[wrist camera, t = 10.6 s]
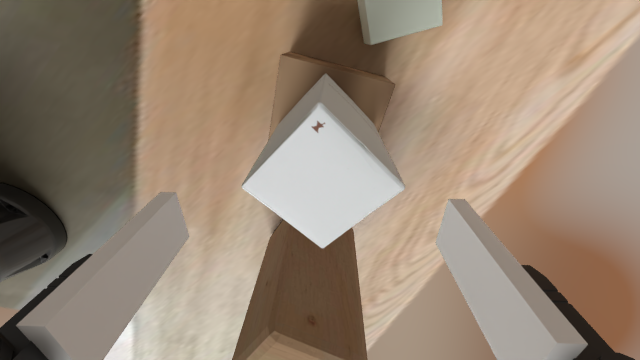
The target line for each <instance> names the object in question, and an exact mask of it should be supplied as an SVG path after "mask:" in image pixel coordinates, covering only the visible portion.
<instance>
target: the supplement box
mask: <svg viewBox="0 0 640 360" xmlns="http://www.w3.org/2000/svg"><path fill="white" fill-rule="evenodd" d="M242 188H243V189H244V190H245V191H247V192H248V193H249V194H251V195H252V196H253V197H255V198H256V199H257V200H259V201H260V202H261V203H263V204H264V205H265V206H267V207H268V208H269V209H271V210H272V211H273V212H275V213H276V214H277V215H279V216H280V217H281V218H283V219H284V220H285V221H286V222H288V223H289V224H290V225H292V226H293V227H294V228H296V229H297V230H298V231H300V232H301V233H302V234H304V235H305V236H306V237H307V238H309V239H310V240H311V241H313V242H314V243H315V244H317V245H318V246H319V247H321V248H325V247H326V246H327V245H329V244H330V243H331V242H333V241H334V240H335V239H337V238H338V237H339V236H341V235H342V234H343V233H345V232H346V231H347V230H349V229H350V228H351V227H353V226H354V225H355V224H357V223H358V222H359V221H361V220H362V219H363V218H365V217H366V216H367V215H369V214H370V213H372V212H373V211H375V210H376V209H377V208H379V207H380V206H382V205H383V204H385V203H386V202H387V201H389V200H390V199H392V198H393V197H394V196H396V195H397V194H399V193H400V192H402V191H403V190H404V189H405V185H404V183H403V181H402V179H401V177H400V174H399V172H398V170H397V168H396V166H395V164H394V162H393V161H392V159H391V157H390V155H389V153H388V151H387V149H386V147H385V145H384V143H383V141H382V139H381V137H380V135H379V133H378V131H377V129H376V127H375V125H374V124H373V122H372V121H371V120H370V119H369V118H368V117H367V116H366V115H365V114H364V112H363V111H362V110H361V109H360V108H359V107H358V106H357V105H356V104H355V103H354V102H353V101H352V100H351V99H350V98H349V96H348V95H347V94H346V93H345V92H344V91H343V90H342V89H341V88H340V87H339V86H338V85H337V84H336V83H335V82H334V81H333V80H332V79H331V78H330V77H329V76H328V75H327V74H324V75H323V76H322V77H321V78H320V80H319V81H318V82H317V83H316V84H315V85H314V86H313V87H312V88H311V89H310V90H309V91H308V92H307V93H306V94H305V95H304V96H303V98H302V99H301V100H300V101H299V102H298V103H297V104H296V105H295V106H294V107H293V108H292V110H291V111H290V112H289V113H288V114H287V115H286V116H285V117H284V119H283V120H282V121H281V122H280V123H279V124H278V126H277V127H276V129H275V131H274V133H273V134H272V136H271V137H270V139H269V141H268V143H267V144H266V146H265V147H264V149H263V151H262V152H261V154H260V156H259V157H258V159H257V161H256V162H255V164H254V166H253V167H252V169H251V171H250V172H249V174H248V176H247V177H246V179H245V181H244V182H243V184H242Z"/></svg>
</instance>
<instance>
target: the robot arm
mask: <svg viewBox="0 0 640 360" xmlns="http://www.w3.org/2000/svg"><path fill="white" fill-rule="evenodd" d="M188 237H189V233H188V230H187V227H186V224H185V220H184V217H183V214H182V210H181V207H180V204H179V200H178V197H177V194H176V192H160V193H159V194H158V195H157V196H156V197H155V198H154V199H153V200H151V201H150V202H149V203H148V204H147V205H146V206H145V207H144V208H143V209H142V210H141V211H140V212H138V213H137V214H136V215H135V216H134V217H133V218H132V219H131V220H130V221H129V222H128V223H126V224H125V225H124V226H123V227H122V228H121V229H120V230H119V231H118V232H117V233H116V234H115V235H113V236H112V237H111V238H110V239H109V240H108V241H107V242H106V243H105V244H104V245H103V246H102V247H100V248H99V249H98V250H97V251H96V252H95V253H94V254H88V255H87V256H85V257H83V258H82V259H80V260H78V261H77V262H75V263H73V264H72V265H71V266H70V267H68V268H67V269H66V270H65V271H64V272H63V273H62V274H61V275H59V278H58V279H57V278H56V279H55V280H54V281H53V282H52V283H50V284H49V285H48V286H47V289H44V290H42V291H41V292H40V293H39V294H38V295H37V296H36V297H35V298H33V299H32V300H31V301H30V302H29V303H28V304H27V305H26V306H24V307H23V308H22V309H21V310H20V311H19V312H18V313H16V314H15V315H14V316H13V317H12V318H11V319H10V320H9V321H8V322H6V323H5V324H4V325H3V326H2V327H1V328H0V360H103V359H104V358H105V356H106V355H107V353H108V352H109V351H110V349H111V348H112V346H113V345H114V343H115V342H116V341H117V339H118V338H119V336H120V335H121V333H122V332H123V331H124V329H125V328H126V326H127V325H128V323H129V322H130V321H131V319H132V318H133V316H134V315H135V313H136V312H137V311H138V309H139V308H140V306H141V305H142V303H143V302H144V301H145V299H146V298H147V296H148V295H149V293H150V292H151V290H152V289H153V288H154V286H155V285H156V283H157V282H158V280H159V279H160V278H161V276H162V275H163V273H164V272H165V270H166V269H167V268H168V266H169V265H170V263H171V262H172V260H173V259H174V258H175V256H176V255H177V253H178V252H179V250H180V249H181V248H182V246H183V245H184V243H185V242H186V240H187V239H188ZM65 244H66V232H65V229H64V227H63V225H62V223H61V222H60V220H59V219H58V218H57V216H56V215H55V214H54V213H53V212H52V211H51V210H50V209H49V208H48V207H47V206H46V205H44V204H43V203H42V202H40V201H39V200H38V199H36V198H35V197H33V196H31V195H30V194H28V193H26V192H24V191H22V190H20V189H17V188H15V187H12V186H9V185H6V184H2V183H0V282H1V281H3V280H6V279H8V278H10V277H13V276H15V275H17V274H19V273H22V272H24V271H26V270H28V269H31V268H33V267H35V266H38V265H40V264H42V263H44V262H46V261H48V260H50V259H51V258H52V257H54V256H55V255H56V254H57V253H59V252H60V251H61V250H62V249H63V248H64V247H65ZM436 245H437V247H438V249H439V250H440V252H441V254H442V256H443V258H444V260H445V262H446V264H447V266H448V268H449V269H450V271H451V273H452V275H453V277H454V279H455V281H456V283H457V285H458V286H459V288H460V290H461V292H462V294H463V296H464V298H465V300H466V302H467V304H468V305H469V307H470V309H471V311H472V313H473V315H474V317H475V319H476V321H477V323H478V324H479V326H480V328H481V330H482V332H483V334H484V335H485V338H486V340H487V341H488V343H489V345H490V347H491V349H492V351H493V353H494V355H495V357H496V359H497V360H635V359H633V358H631V357H628V356H626V355H623V354H621V353H615V352H614V351H613V350H612V349H611V348H610V347H609V346H608V345H607V343H606V342H605V341H604V340H603V339H602V338H601V337H600V336H599V335H598V333H597V332H596V331H595V330H594V329H593V328H592V327H591V326H590V325H589V324H588V323H587V321H586V320H585V319H584V318H583V317H582V316H581V315H580V314H579V313H578V312H577V311H576V309H575V308H574V307H573V306H572V305H571V304H568V301H567V300H566V298H565V297H564V296H563V295H562V294H561V293H559V292H558V290H557V289H556V288H555V286H553V284H552V283H551V282H550V281H549V280H548V279H547V278H546V277H545V276H544V275H542V274H541V273H540V272H538V271H537V270H536V269H534V268H533V267H531V266H530V265H520V264H519V263H518V261H517V260H516V259H515V258H514V256H512V254H511V253H510V252H509V251H508V249H507V248H506V247H505V246H504V245H503V244H502V242H501V241H500V240H499V239H498V238H497V237H496V235H495V234H494V233H493V232H492V231H491V229H490V228H489V227H488V226H487V225H486V224H485V222H484V221H483V220H482V219H481V218H480V217H479V215H478V214H477V213H476V212H475V211H474V210H473V208H472V207H471V206H470V205H469V204H468V202H467V201H466V200H465V199H448V203H447V206H446V209H445V213H444V216H443V219H442V223H441V226H440V229H439V233H438V236H437V239H436Z"/></svg>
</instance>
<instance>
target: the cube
mask: <svg viewBox="0 0 640 360" xmlns="http://www.w3.org/2000/svg"><path fill="white" fill-rule="evenodd" d="M357 2H358V8H359V15H360V21H361V27H362V34H363V40H364V44H369V45H373V44H377V43H380V42H384V41H387V40H391V39H395V38H398V37H402V36H405V35H409V34H413V33H416V32H420V31H423V30H427V29H430V28H434V27H438V26H441V25H442V0H357Z"/></svg>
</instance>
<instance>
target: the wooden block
mask: <svg viewBox="0 0 640 360" xmlns="http://www.w3.org/2000/svg"><path fill="white" fill-rule="evenodd" d="M232 360H367V351H366V342H365V333H364V324H363V314H362V305H361V296H360V287H359V278H358V269H357V260H356V250H355V241H354V232H353V229H352V227H351V228H350V229H349V230H347V231H346V232H345V233H343V234H342V235H341V236H339V237H338V238H337V239H335V240H334V241H333V242H331V243H330V244H329V245H327V246H326V247H325V248H321V247H319V246H318V245H317V244H315V243H314V242H313V241H311V240H310V239H309V238H307V237H306V236H305V235H304V234H302V233H301V232H300V231H298V230H297V229H296V228H294V227H293V226H292V225H290V224H289V223H288V222H286V221H285V220H284V219H283V221H282V222H281V223H280V225H279V226H278V228H277V229H276V230H275V232H274V233H273V235H272V236H271V237H270V240H269V243H268V246H267V249H266V252H265V256H264V259H263V262H262V265H261V268H260V272H259V275H258V278H257V281H256V284H255V288H254V291H253V294H252V297H251V301H250V304H249V307H248V310H247V313H246V317H245V320H244V323H243V326H242V329H241V333H240V336H239V339H238V342H237V346H236V349H235V352H234V355H233V358H232Z"/></svg>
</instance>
